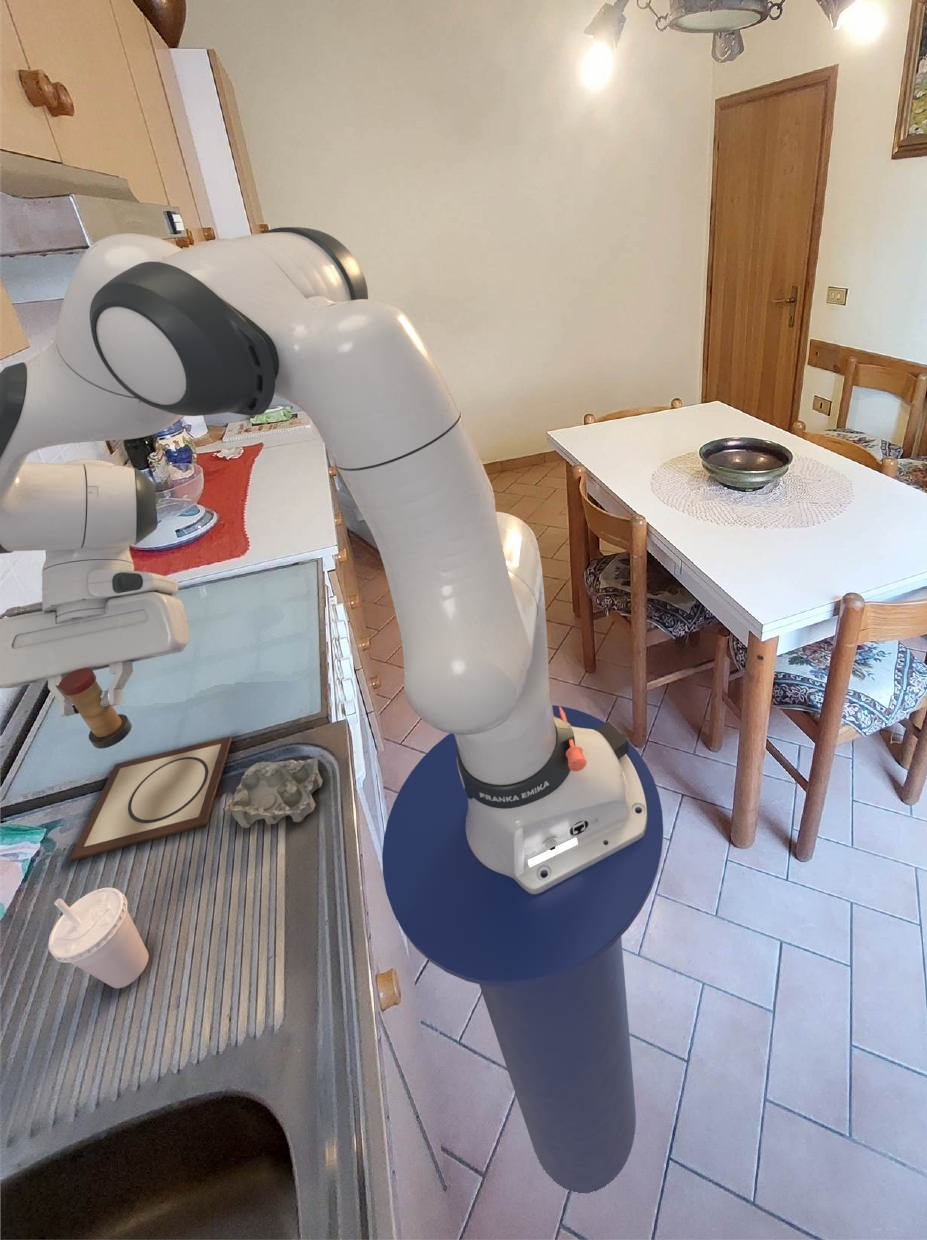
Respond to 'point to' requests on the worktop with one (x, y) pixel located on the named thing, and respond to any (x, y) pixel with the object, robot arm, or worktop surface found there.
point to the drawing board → (155, 798)
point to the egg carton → (276, 792)
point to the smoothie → (99, 938)
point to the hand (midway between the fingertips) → (92, 710)
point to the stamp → (94, 709)
